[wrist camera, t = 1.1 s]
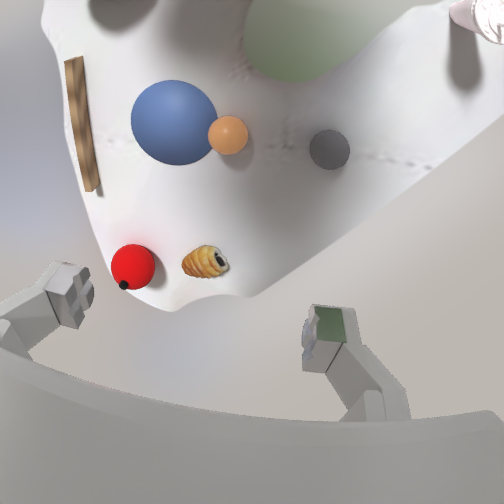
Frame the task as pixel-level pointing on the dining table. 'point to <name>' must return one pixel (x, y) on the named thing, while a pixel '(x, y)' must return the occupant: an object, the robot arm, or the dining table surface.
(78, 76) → the wall
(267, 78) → the dining table surface
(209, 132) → the object ball
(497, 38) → the smoothie
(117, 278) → the ornament
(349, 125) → the dining table surface
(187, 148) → the blue flat disc
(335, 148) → the grey matte sphere
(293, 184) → the dining table surface
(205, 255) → the pastry
